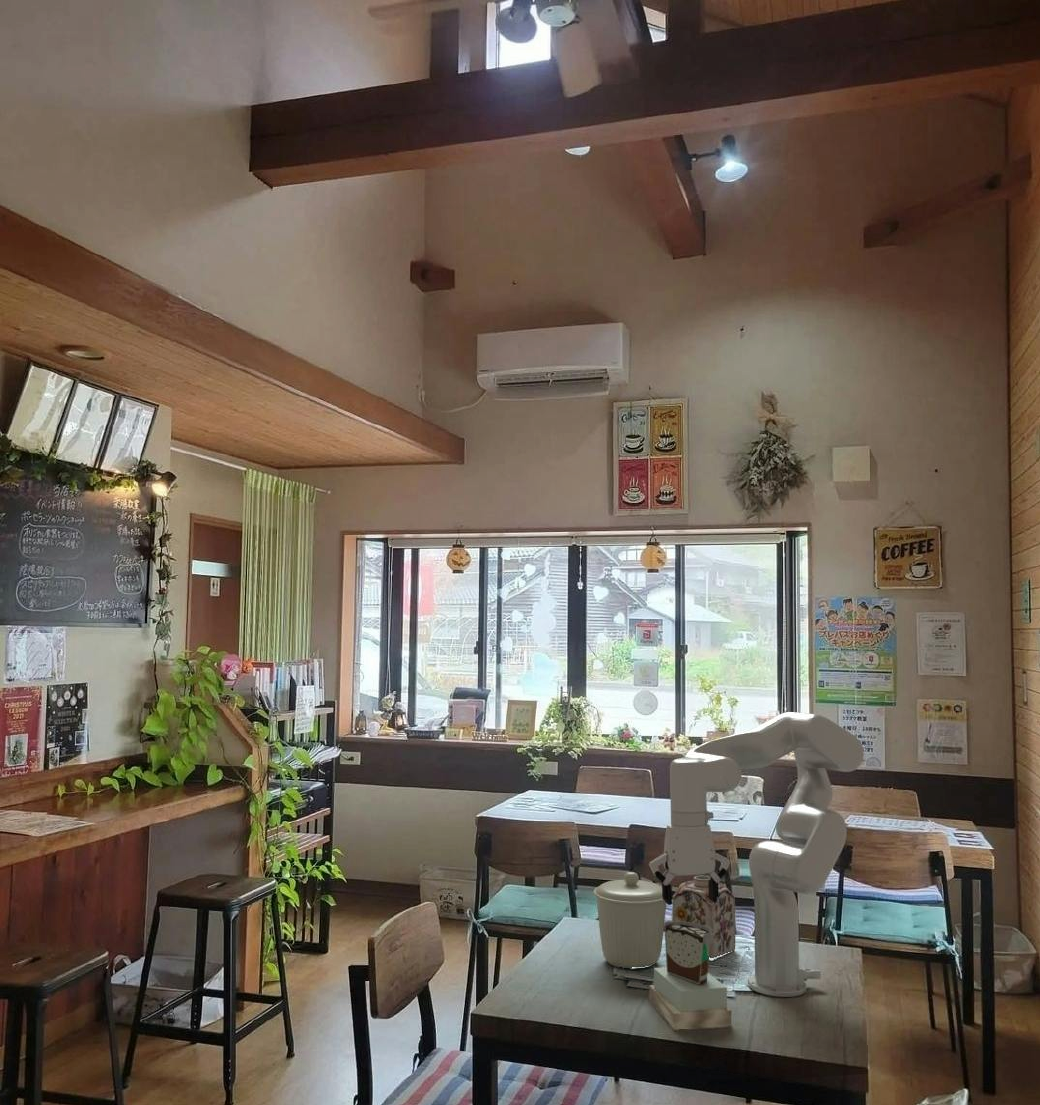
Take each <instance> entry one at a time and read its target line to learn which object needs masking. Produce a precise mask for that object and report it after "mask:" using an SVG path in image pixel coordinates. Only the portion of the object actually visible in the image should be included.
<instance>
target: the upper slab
mask: <svg viewBox="0 0 1040 1105" xmlns="http://www.w3.org/2000/svg"><path fill="white" fill-rule="evenodd" d="M653 985H654V988H655V989H656V990H657V991H658V992H659V993H660V994H662V995H663V996H664V997H665V998H666V999H667V1000H668V1001H669V1002H670V1003H671V1004H673V1005H674V1006H675V1007H676V1008H677V1009H678V1010H679V1011H680V1012H688V1011H699V1010H710V1009H720V1008H727V1007H728V995H727V994H728V987H727V986H726V985H725V984H723V983H722V982H720V980H718V979H717V978H715V977H714V976H713V975H711V973H709V972H708V974H707V981H706V982H705V983H704V984H701V985H699V984H696V983H694V982H691V981H688V980H686V979H683V978H680V977H677V976H675V975H672V974H669V973H667V966H665V967H664V966H662V967H653Z"/></svg>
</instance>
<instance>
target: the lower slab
mask: <svg viewBox="0 0 1040 1105" xmlns="http://www.w3.org/2000/svg"><path fill="white" fill-rule="evenodd" d="M648 993H649V997H648V998H649V1000H650V1001H651V1002H650V1003H651V1004H652V1006H653V1007H654V1006H655V1007H656V1008H657V1009H656V1008H655V1007H654V1008H655V1009H656V1011H657V1012H658V1011H659V1012H660V1013H661V1014H662V1015H661V1014H660V1013H659V1012H658V1013H659V1014H660V1015H661V1017H662V1018H663V1017H664V1018H665V1019H664V1018H663V1019H664V1020H665V1021H666V1020H667V1021H668V1023H669V1024H670V1025H671V1026H670V1025H669V1024H668V1023H667V1024H668V1025H669V1026H670V1028H671V1029H672V1028H673V1029H672V1030H673V1031H680V1030H679V1029H687V1030H699V1029H700V1028H701V1029H714V1028H715V1027H717V1028H729V1027H728V1026H731V1027H732V1009H731V1008H730V1007H729V1006H727V1008H720V1009H710V1010H699V1011H688V1012H680V1011H679V1010H678V1009H677V1008H676V1007H675V1006H674V1005H673V1004H671V1003H670V1002H669V1001H668V1000H667V999H666V998H665V997H664V996H663V995H662V994H660V993H659V992H658V991H657V990H656V989H655V988H654V984H650V985H649V992H648ZM667 1021H666V1022H667Z"/></svg>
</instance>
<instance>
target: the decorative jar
mask: <svg viewBox="0 0 1040 1105" xmlns="http://www.w3.org/2000/svg"><path fill="white" fill-rule="evenodd" d="M709 879H710V876H709V875H694V877H693V880H689V881H684V882H682V883H681V884H679V887H678V888H677V889H676V890H675V892H674V894H672V908H671V910H672V912H671V913H672V915H671V921H680V922H691V923H697V924H701V925H704V926H707V927H709V928H710V929H711V932H712V934H713V939H714V942H713V943H712V944H710V952H709V957H710V958H714V957H717V956H720V955H723V954H725V953H728V952H731V951H733V952H734V951H735V950H736V903H735V902H736V900H735V895H734V894H733V893H732V892H731V890H730V889H729V888H728V887H726V885H724V884H723V883H721V882H719V883H718V887H719V897H717V903H714V902H712V901H711V900H710V899H709V887H708V881H709ZM731 953H732V952H731Z"/></svg>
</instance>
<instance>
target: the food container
mask: <svg viewBox="0 0 1040 1105" xmlns="http://www.w3.org/2000/svg"><path fill="white" fill-rule="evenodd" d="M663 933H664V943H665V946H664V947H665V959H666V961H665V962H666V967H667V973H669V974H672V975H675V976H677V977H680V978H683V979H686V980H688V981H691V982H694V983H696V984H699V985H701V984H704V983H705V982H706V981H707V974H708V973H709V972H708V971H709V962H710V961H709V952H710V944H712V943H713V942H714V939H713V934H712V932H711V929H710V928H709V927H707V926H704V925H701V924H697V923H691V922H680V921H672V920H671V921H665V922H664V925H663Z"/></svg>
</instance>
